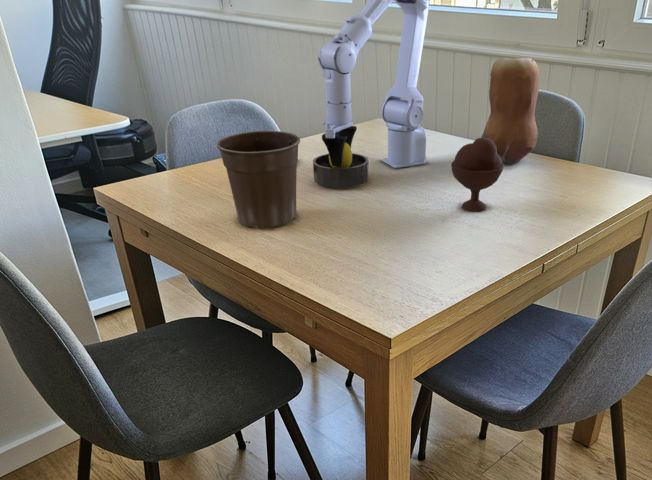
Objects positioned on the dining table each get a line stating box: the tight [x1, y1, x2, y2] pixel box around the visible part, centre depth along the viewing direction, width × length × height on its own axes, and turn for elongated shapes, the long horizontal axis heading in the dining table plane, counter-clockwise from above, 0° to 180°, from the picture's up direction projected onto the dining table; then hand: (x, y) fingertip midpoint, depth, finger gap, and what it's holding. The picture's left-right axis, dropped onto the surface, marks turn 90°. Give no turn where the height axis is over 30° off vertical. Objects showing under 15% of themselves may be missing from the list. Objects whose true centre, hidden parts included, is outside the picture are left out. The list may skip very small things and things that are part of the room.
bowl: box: [312, 152, 370, 189], centre depth 149 cm, size 13×13×5 cm
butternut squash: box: [483, 57, 540, 164], centre depth 155 cm, size 14×13×25 cm
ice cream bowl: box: [450, 137, 505, 213], centre depth 130 cm, size 11×11×15 cm
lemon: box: [329, 142, 353, 168], centre depth 147 cm, size 6×6×8 cm
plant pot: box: [216, 130, 301, 229], centre depth 126 cm, size 16×16×16 cm
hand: (340, 161), depth 148 cm, fingers closed on lemon, 5 cm apart
